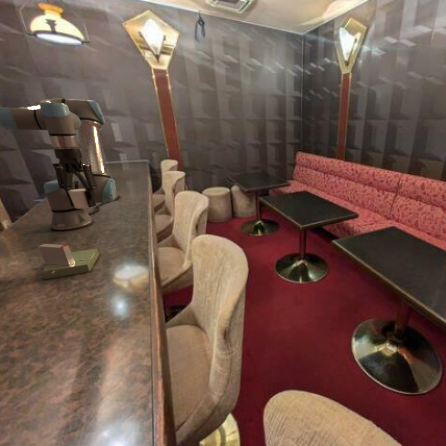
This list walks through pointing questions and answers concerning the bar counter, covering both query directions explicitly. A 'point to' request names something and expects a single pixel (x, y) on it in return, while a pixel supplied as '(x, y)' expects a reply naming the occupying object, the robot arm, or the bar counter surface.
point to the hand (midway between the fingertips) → (84, 205)
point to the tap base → (82, 264)
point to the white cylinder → (78, 198)
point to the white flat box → (56, 254)
